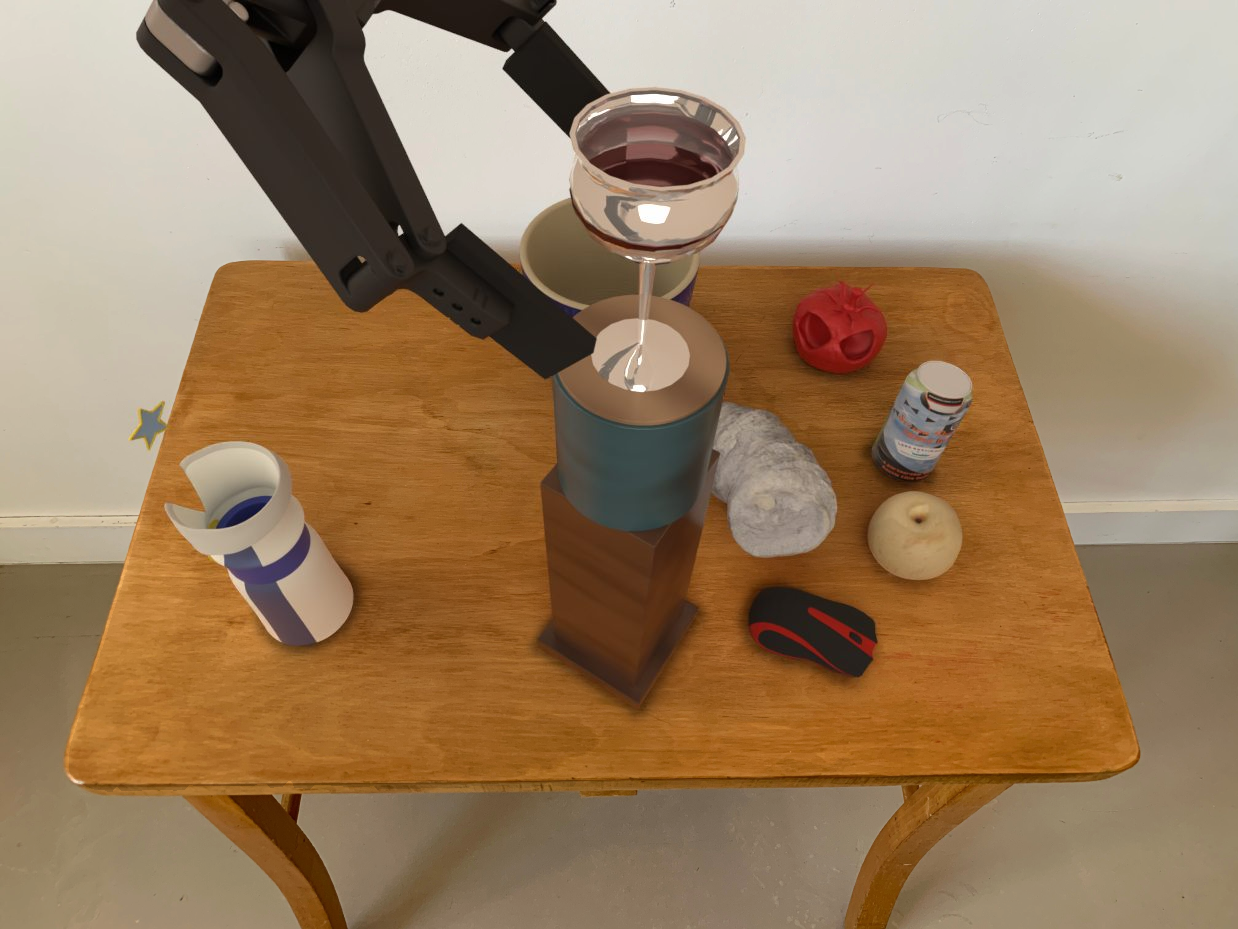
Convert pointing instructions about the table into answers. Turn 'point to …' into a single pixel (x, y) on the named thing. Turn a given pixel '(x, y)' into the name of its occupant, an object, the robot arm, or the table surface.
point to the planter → (590, 264)
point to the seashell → (770, 485)
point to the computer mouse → (813, 629)
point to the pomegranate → (838, 328)
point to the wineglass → (652, 207)
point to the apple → (915, 535)
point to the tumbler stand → (629, 504)
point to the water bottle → (259, 536)
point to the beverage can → (922, 421)
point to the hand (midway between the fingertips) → (600, 244)
